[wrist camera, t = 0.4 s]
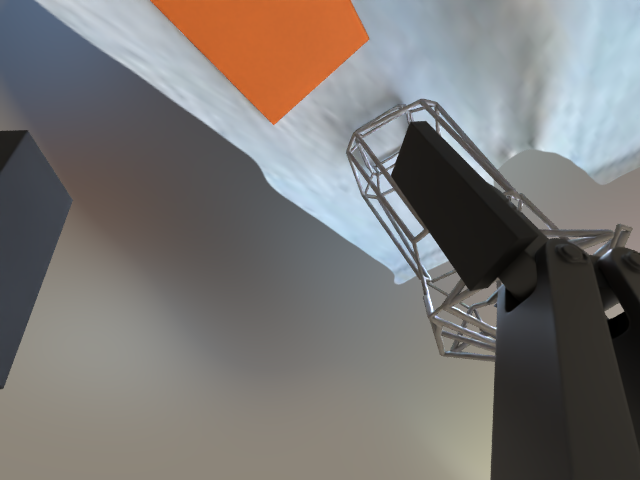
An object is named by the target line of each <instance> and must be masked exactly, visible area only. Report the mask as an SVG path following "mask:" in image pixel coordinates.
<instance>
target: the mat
mask: <svg viewBox="0 0 640 480" xmlns="http://www.w3.org/2000/svg"><path fill="white" fill-rule="evenodd" d="M150 1H151V2H152V3H153V4H154V5H155V6H156V7H157V8H158V9H159V10H160V11H161V12H162V13H163V14H164V15H165V16H166V17H167V18H168V19H169V20H170V21H171V22H172V23H173V24H174V25H175V26H176V27H177V28H178V29H179V30H180V31H181V32H182V33H183V34H184V35H185V36H186V37H187V38H188V39H189V40H190V41H191V42H192V43H193V44H194V45H195V46H196V47H197V48H198V49H199V50H200V51H201V52H202V53H203V54H204V55H205V56H206V57H207V58H208V59H209V60H210V61H211V62H212V63H213V64H214V65H215V66H216V67H217V68H218V69H219V70H220V71H221V72H222V73H223V74H224V75H225V77H226V78H227V79H228V80H229V81H230V82H231V83H232V84H233V85H234V86H235V87H236V88H237V89H238V90H239V91H240V92H241V93H242V94H243V95H244V96H245V97H246V98H247V99H248V100H249V101H250V102H251V103H252V104H253V105H254V106H255V107H256V108H257V109H258V110H259V111H260V112H261V113H262V114H263V115H264V116H265V117H266V118H267V119H268V120H269V121H270V122H271V123H272V124H273V125H274V124H276V123H277V122H278V121H279V120H280V119H281V118H282V117H283V116H285V115H286V114H287V113H288V112H289V111H290V110H291V109H292V108H293V107H295V106H296V105H297V104H298V103H299V102H300V101H301V100H302V99H303V98H305V97H306V96H307V95H308V94H309V93H310V92H311V91H312V90H313V89H315V88H316V87H317V86H318V85H319V84H320V83H321V82H322V81H323V80H325V79H326V78H327V77H328V76H329V75H330V74H331V73H332V72H333V71H335V70H336V69H337V68H338V67H339V66H340V65H341V64H342V63H343V62H345V61H346V60H347V59H348V58H349V57H350V56H351V55H352V54H353V53H355V52H356V51H357V50H358V49H359V48H360V47H361V46H362V45H363V44H365V43H366V42H367V41H368V40H369V37H368V35H367V33H366V31H365V29H364V27H363V25H362V23H361V21H360V19H359V17H358V15H357V13H356V11H355V9H354V7H353V5H352V3H351V1H350V0H150Z"/></svg>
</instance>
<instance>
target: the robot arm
mask: <svg viewBox="0 0 640 480" xmlns="http://www.w3.org/2000/svg"><path fill="white" fill-rule="evenodd" d="M391 177H392V178H393V180H394V181H395V183H396V184H397V186H398V187H399V189H400V190H401V191H402V193H403V194H404V196H405V197H406V199H407V200H408V202H409V203H410V205H411V206H412V208H413V209H414V210H415V212H416V213H417V215H418V216H419V218H420V219H421V221H422V222H423V224H424V225H425V226H426V228H427V229H428V231H429V232H430V234H431V235H432V237H433V238H434V240H435V241H436V242H437V244H438V245H439V247H440V248H441V250H442V251H443V253H444V254H445V256H446V257H447V259H448V260H449V261H450V263H451V264H452V266H453V267H454V268H455V270H456V272H457V273H458V275H459V276H460V277H461V279H462V280H463V282H464V283H465V285H466V286H467V288H468V289H469V291H475V290H479V289H484V288H488V287H489V286H490V285H491V284H492V283H493V282H494V281H495V280H496V279H497V278H499V279H500V281H501V282H502V283H503V284H502V285H501V286H500V287H499V288H498V289H497V290H496V291H495V292H494V293H493V294H492V295H491V296H490V297H489V298H488V299H487V302H486V303H487V304H490V303H491V302H492V301H493V300H494V299H495V298H498V300H497V303H496V304H495V305H494V307H497V326H496V352H495V354H496V355H495V378H494V403H493V404H494V405H493V431H492V455H491V480H640V253H638V252H637V251H635V250H631V249H628V248H625V247H615V248H612V249H611V250H610V251H608V252H607V253H606V254H604V255H603V256H602V257H601V256H593V255H587V254H586V253H585V252H584V251H583V250H582V249H581V248H579V247H578V246H577V245H575V244H573V243H571V242H569V241H567V240H563V239H559V238H554V239H553V238H552V239H550V240H549V239H548V238H547V237H546V236H545V235H544V234H543V233H542V232H541V231H540V230H539V229H538V228H537V227H536V226H535V225H534V224H533V223H532V222H531V221H530V220H529V219H528V218H527V217H526V216H525V215H524V214H523V213H522V212H521V211H520V210H517V207H516V206H515V205H514V204H513V203H512V202H509V199H508V198H507V197H506V196H505V195H504V194H503V193H502V192H501V191H499V190H498V189H497V188H495V187H493V186H492V185H490V184H489V183H487V182H486V181H485V180H484V179H483V178H482V177H481V176H480V175H479V174H478V173H477V172H476V171H475V170H474V169H473V168H472V167H471V166H470V165H469V164H468V163H467V162H466V161H465V160H464V159H463V158H462V157H461V156H460V155H459V154H458V153H457V152H456V151H455V150H454V149H453V148H452V147H451V146H450V145H449V144H448V143H447V142H446V141H445V140H444V139H443V138H442V137H441V136H440V135H439V134H438V133H437V132H436V131H435V130H434V129H433V128H432V127H431V126H430V125H429V124H428V123H427V122H426V121H417V122H410V124H409V127H408V129H407V132H406V135H405V138H404V141H403V143H402V146H401V149H400V152H399V154H398V157H397V160H396V163H395V166H394V168H393V171H392V174H391ZM72 201H73V200H72V198H71V197H70V196H69V194H68V192H67V190H66V189H65V187H64V186H63V184H62V183H61V181H60V180H59V178H58V177H57V175H56V173H55V172H54V170H53V169H52V167H51V166H50V164H49V163H48V161H47V160H46V158H45V157H44V155H43V153H42V152H41V150H40V149H39V147H38V146H37V144H36V143H35V141H34V139H33V138H32V136H31V135H30V133H29V132H28V131H27V130H19V131H0V389H3V388H4V385H5V383H6V380H7V377H8V374H9V371H10V369H11V366H12V364H13V361H14V358H15V355H16V353H17V350H18V347H19V345H20V342H21V339H22V337H23V334H24V331H25V328H26V326H27V323H28V320H29V317H30V315H31V312H32V309H33V307H34V304H35V301H36V299H37V296H38V293H39V290H40V288H41V285H42V282H43V279H44V277H45V274H46V271H47V269H48V266H49V263H50V261H51V258H52V255H53V252H54V250H55V247H56V244H57V241H58V239H59V236H60V234H61V231H62V228H63V225H64V223H65V220H66V217H67V214H68V212H69V209H70V206H71V204H72ZM618 303H620V304H621V306H622V308H623V309H624V312H623V313H621V314H619V315H617V316H616V317H614V318H611V319H609V318H607V316H606V315H605V312H604V311H606V310H608V309H609V308H611V307H613V306H614V305H616V304H618Z"/></svg>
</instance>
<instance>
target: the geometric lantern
mask: <svg viewBox="0 0 640 480" xmlns="http://www.w3.org/2000/svg"><path fill="white" fill-rule="evenodd" d="M419 104H421V105H422V106H423V107H420V108H417V109H414V110H411V109H412V108H414V107H416V106H417V105H419ZM402 107H403V108H402ZM431 107H435V111H434V110H433V109H432V108H431ZM397 108H398V109H399V110H397V111H395V112H393V113H391V114H389V115H387V114H388V113H390V112H392V111H393V110H395V109H397ZM424 109H426V110H427V111H428V112H429V113H430V114H431V115H432V116H433V117H434V118H435V121H436V132H437V133H438V134H439V135H440V125H441V126H442V127H443V128H444V129H445V130H446V131H447V132H448V133H449V134H450V135H451V136H452V137H453V138H454V139H455V140H456V141H457V142H458V143H459V144H460V145H461V146H462V147H463V148H464V149H465V150H466V151H467V152H468V153H469V154H470V155H471V156H472V157H473V158H474V159H475V160H476V161H477V162H478V163H479V164H480V166H481V167H482V168H483V169H484V170H485V171H486V172H487V173H488V174H489V175H490V176H491V177H492V178H493V179H494V180H495V181H496V182H497V183H498V184H499V185H500V186H501V187H502V188H503V189H504V190H505V191H506V192H504V193H503V194H504V195H505V196H507V195H510V196H511V197H512V198H514V199H515V200H519V203H518V207H517V210H520V211H521V209H522V205H523V203H524V204H525V205H526V206H527V207H528V208H529V209H530V210H531V211H532V212H534V213H535V214H536V215H537V216H538V217H539V218H540V219H541V220H542V221H543V222H544V223H545V224H546V225H547V226H548V227H549V228H550V229H551V230H540V231H541V232H542V233H543V234H544V235H545V236H546V237H559V238H560V239H563V240H567V241H569V242H571V243H573V244H575V245H577V246H578V247H579V248H581V249H582V250H583V251H584V249H586V248H589V247H592V246H594V245H597V244H600V243H602V242H605V241H608V240H609V241H608V242H607V243H606V244H605V245H604V246H602V247H601V248H600V249H599V250H598V251H597V252H596V253H594V254H593V256H601V257H602V256H603V255H604V254H606V253H607V252H608V251H610V250H611V249H612V248H615V247H625V244H626V242H627V240H628V238H629V236H630V233H631V231H632V229H633V228H631V227H628V226H625V225H622V224H618V225H616V229H615V232H613V231H612V230H559V229H558V228H557V227H556V226H555V225H554V224H553V223H552V222H551V221H550V220H549V219H548V218H547V217H546V216H545V215H544V214H543V213H542V212H541V211H540V210H539V209H538V208H537V207H536V206H535V205H534V204H533V203H531V201H529V200H528V199H527V198H526V197H525V196H524V195H523V194H522V193H520V194H518V192H516V190H515V189H514V188H513V187H512V186H511V185H510V184H509V183H508V181H507V180H506V179H505V178H504V177H503V176H502V175H501V174H500V172H499V171H498V170H497V169H496V168H495V167H494V166H493V164H492V163H491V162H490V161H489V160H488V159H487V158H486V157H485V155H484V154H483V153H482V152H481V151H480V150H479V149H478V148H477V146H476V145H475V144H474V143H473V142H472V141H471V140H470V138H469V137H468V136H467V135H466V134H465V133H464V132H463V131H462V129H461V128H460V127H459V126H458V125H457V124H456V123H455V121H454V120H453V119H452V118H451V117H450V116H449V115H448V114H447V112H446V111H445V110H444V109H443V108H442V107H441V106H440V105H439V104H438V103H437V102H435V101H431V100H426V99H420V100H418V101H416V102H414V103H412V104H410V105H408V106H406V104H400V105H396V106H395V107H393V108H391V109H390V110H388V111H387V112H385V113H383V114H382V115H380V116H378V117H377V118H375V119H374V120H372V121H370V122H369V123H367V124H365V125H364V126H362V127H361V128H359V129H357V130H356V131H355V132H354V133H353V135H352V137H351V139H350V142H349V145H348V148H347V151H346V154H347V157H348V160H349V162H350V165H351V168H352V170H353V173H354V176H355V179H356V181H357V184H358V187H359V190H360V192H361V195H362V197H363V199H364V200H365V201H366V203H367V204H368V206H369V207H370V209H371V210H372V212H373V213H374V214H375V216H376V217H377V219H378V220H379V222H380V223H381V225H382V226H383V227H384V229H385V230H386V232H387V233H388V235H389V236H390V238H391V239H392V240H393V242H394V243H395V245H396V246H397V248H398V249H399V251H400V252H401V253H402V255H403V256H404V258H405V259H406V261H407V262H408V264H409V265H410V266H411V268H412V269H413V271H414V272H415V274H416V275H417V277H418V278H419V279H420V280H421V282H422V286H423V291H424V296H423V299H424V303H425V307H426V312H427V315H428V318H429V320H430V323H431V326H432V329H433V333H434V336H435V339H436V343H437V346H438V349H439V353H440V355H441V356H445V357H454V358H465V359H473V360H483V361H492V362H495V356H492V355H482V354H475V353H468V352H461V350H463V349H464V348H466V347H467V346H469V345H473V346H476V347H479V348H482V349H485V350H489V351H492V352H496V340H493V339H491V338H488V337H487V336H491V337H493V338H495V339H496V327H495V328H494V327H492V326H490V325H488V324H486V323H484V322H482V320H481V318H480V316H479V314H478V311H477V309H476V308H480V307H483V306H487V305H490V304H493V303H497V300H498V298H495V299H494V300H493V301H492V302H491V303H490V304H487V303H486V302H487V300H486V301H483V302H479V303H476V304H472V305H471V306H470V307H469V306H467V305H466V304H464V303H462V302H461V301H463V300H465V299H466V298H468V297H470V296H472V295H473V294H475V293H477V292H479V291H480V290H482V289H479V290H475V291H469V289H467V290H465V291H463V292H462V293H460V292H461V290H462V289H463V288H464V286H465V283H464V282H463V280H462V279H460V281H459V282H458V283H457V285H456V286H455V287H454V289H453V290H452V291H451V293H450V294H447V293H446V292H444V291H442V290H440V289H439V288H437V287H436V286H434V285H432V284H430V283H429V282H432V283H434V282H436V281H438V280H440V279H442V278H445V277H447V276H449V275H451V274H453V273H456V270H452V271H450V272H448V273H446V274H444V275H441V276H439V277H437V278H435V279H433V280H431V278H430V276H429V275H428V273H427V271H426V270H425V268H424V267H423V265H422V264H421V262H420V258H419V254H418V249H417V245H416V243H417V242H418V241H420V240H421V239H422V238H423V237H425V236H426V235H427V234H428V233H430V232H429V231H428V229H427V228H426V226H425V225H424V224H423V222H422V221H421V219H420V218H419V216H418V215H417V213H416V212H415V210H414V209H413V208H412V206H411V205H410V203H409V202H408V200H407V199H406V197H405V196H404V194H403V193H402V191H401V190H400V189H399V187H398V186H397V184H396V183H395V181H394V180H393V178H392V177H391V176H390V174H389V173H388V172H387V171H388V170H389V169H391V168H393V167H394V166H395V164H393V165H392V166H390V167H388V168H387V169H385V168H384V167H383V165H382V164H383V163H385V162H387V161H389V160H390V159H392V158H394V157H395V156H397V155H398V154H399V152H400V151H399V152H398V153H396V154H394V155H393V156H391V157H389V158H388V159H386V160H384V161H382V162H381V163H380V161H379V160H378V159H377V157H376V156H375V155H374V153H373V152H372V151H371V149H370V148H369V147H368V145H367V144H366V143H365V142H364V140H363V139H362V138H364V137H366V136H367V135H369V134H371V133H372V132H374V131H376V130H377V129H379V128H381V127H382V126H384V125H386V124H387V123H389V122H391V121H392V120H394V119H396V118H397V117H399V116H401V115H403V114H404V113H406V116H407V120H408V124H410V122H414V120H413V117H412V113H413V112H417V111H420V110H424ZM439 112H440V113H441V114H442V115H443V117H444V118H445V119H446V120H447V121H448V122H449V124H450V125H451V126H452V127H453V128H454V129H455V131H456V132H457V133H458V134H459V135H460V136H461V137H462V138H461V137H460V136H459V135H458V134H457V133H456V132H455V131H454V130H453V129H452V128H451V127H450V126H449V125H448V124H447V123H446V122H445V121H444V120H443V119H442V118H441V117H440V116H439ZM385 115H387V116H385ZM384 116H385V117H384ZM409 116H410V117H409ZM382 117H383V118H382ZM380 118H381V119H380ZM410 120H411V121H410ZM385 121H386V122H385ZM383 122H384V123H383ZM381 123H382V124H381ZM379 124H381V125H379ZM377 125H379V126H377ZM375 126H377V127H376V128H374V129H372V130H371V131H369V132H367V133H366V134H364V135H362V134H361V133H363V132H365V131H367V130H369V129H371V128H373V127H375ZM440 136H441V135H440ZM354 140H355V142H356V145H355V146H354V147H353V148H352V146H353V143H354ZM362 146H363V148H364V149H365V150H366V152H367V153H368V154H369V156H370V157H371V158H372V160H373V161H374V163H375V164H376V166H371V165H370V163H369V161H368V159H367V156H366V154H365V152H364V150H363V148H362ZM357 147H358V148H359V151H360V153H361V155H362V157H363V160H364V162H365V164H366V166H367V168H368V169H369V170H370V172H371V173H372V174H371V177H369V176H368V175H367V173H366V172H365V171H364V169H363V168H362V167H361V165H360V164H359V163H358V161H357V160H356V159H355V158H354V156H353V155H352V154H351V153H352V152H353V151H354V150H355V149H356V148H357ZM351 148H352V149H351ZM354 164H355V165H354ZM355 166H356V167H357V169H358V170H359V171H360V173H361V174H362V175H363V177H364V178H365V180H366V181H367V182H368V185H367V187H366V190H365V192H364V190H363V187H362V185H361V182H360V179H359V176H358V173H357V170H356V168H355ZM377 167H378V168H379V169H380V171H381V172H380V173H379V171H378V170H377ZM372 168H374V169H375V171H376V172H377V173H374V172H373V170H372ZM381 174H383V175H384V176H385V177H386V179H387V180H388V182H389V183H390V184H391V186H392V187H393V188H392V189H390V190H388V191H386V192H383V193H381V192H380V183H379V175H381ZM374 175H376V176H377V187H378V188H377V187H376V185H375V184H374V183H373V181H372V178H373V176H374ZM369 186H371V188H372V189H373V190H374V192H375V193H376V195H377V196H375V195H369V194H367V191H368V189H369ZM393 191H396V192H397V194H398V195H399V196H400V198H401V199H402V200H403V202H404V203H405V205H406V206H407V207H408V209H409V210H410V211H411V213H412V214H413V215H414V217H415V218H416V219H417V220H418V222H419V223H420V224H421V226H422V227H423V228H424V230H423V231H422V232H421V233H420V234H418V235H417V236H416V237H414V236H413V235H412V233H411V232H410V231H409V229H408V228H407V227H406V225H405V224H404V223H403V221H402V220H401V219H400V217H399V216H398V215H397V213H396V212H395V211H394V209H393V208H392V207H391V205H390V204H389V203H388V201H387V200H386V199H385V197H384V196H385V195H387V194H389V193H391V192H393ZM510 196H507V198H508V199H509V202H511V197H510ZM368 198H372V199H377V200H378V201H379V203H380V205H381V206H382V208H383V210H384V211H385V213H386V215H387V216H388V218H389V219H390V221H391V223H392V224H393V226H394V228H395V229H396V231H397V233H398V234H399V236H400V237H401V239H402V241H403V242H404V244H405V246H406V247H407V249H408V250H409V252H410V254H411V255H412V257H413V259H414V260H415V262H416V264H417V266H418V269H417V267H416V266H415V265H414V263H413V262H412V260H411V259H410V257H409V256H408V255H407V253H406V252H405V250H404V249H403V248H402V246H401V245H400V243H399V242H398V241H397V239H396V238H395V236H394V235H393V233H392V232H391V231H390V229H389V228H388V226H387V225H386V224H385V222H384V221H383V219H382V218H381V217H380V215H379V214H378V212H377V211H376V210H375V208H374V207H373V205H372V204H371V203H370V201H369V200H368ZM389 212H390V213H389ZM391 215H392V216H391ZM393 218H394V219H395V221H396V222H397V223H398V225H399V226H400V228H401V229H402V230H403V232H404V233H405V235H406V236H407V237H408V239H409V240H410V241H411V243H413V249H414V251H413V249H412V248H411V246H410V244H409V243H408V241H407V240H406V238H405V236H404V235H403V233H402V232H401V230H400V228H399V227H398V225H397V224H396V222H395V221H394V219H393ZM622 229H623V230H626V231H621V230H622ZM568 237H585V238H579V239H573V240H570V239H569V238H568ZM584 252H585V251H584ZM585 253H586V252H585ZM586 254H587V253H586ZM587 255H589V254H587ZM423 275H424V276H423ZM494 282H497V289H498V288H499V287H500V286H501V281H500V279H499V278H497V279H496V280H495V281H494ZM494 282H493V283H494ZM427 285H429V286H431V287H432V288H434V289H436V290H438V291H439V292H441V293H443V294H444V295H446V296H447V298H446V300H445V301H444V303H443V304H442V305H441V306H440V307H439V308H437V309H436V310H435V311H434V309H433V307H432V303H431V300H430V296H429V292H428V288H427ZM459 293H460V294H459ZM458 303H459V304H461V305H462V306H464V307H466V308H467V309H468V311H467V314H466V313H464V312H462V311H460V310H458V309H456V308H455V307H453V306H454V305H456V304H458ZM441 310H445V311H447V312H449V313H451V314H453V315H455V316H457V317H459V318H461V319H462V320H463V323H462V325H461V326H459V325H456V324H453V323H451V322H448V321H446V320H444V319H441V318H438V316H437V314H438V313H439V312H440V311H441ZM473 311H474V313H475V315H476V317H477V319H476V318H474V317H472V316H471V315H472V313H473ZM468 323H470V324H472V325H474V326H476V327H479V329H480V331H482V332H480V333H476V332H473V331H471V330H468V329H466V327H467V324H468ZM443 326H445V327H447V328H450V329H452V330H455V331H457V332H458V334H457V335H456V334H453V333H450V332H447V331H443V330H442V327H443ZM463 334H464V335H467V336H469V337H472V338H466V337H463V336H462V335H463ZM441 336H444V337H447V338H450V339H453V340H455V341H454V343H453V345H452V347H451V350H450V351H445V349H444V345H443V341H442V337H441ZM477 340H479V341H477ZM480 341H481V342H480ZM459 342H463V343H462V344H460V345H459ZM483 342H484V343H483ZM458 345H459V346H458Z"/></svg>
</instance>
